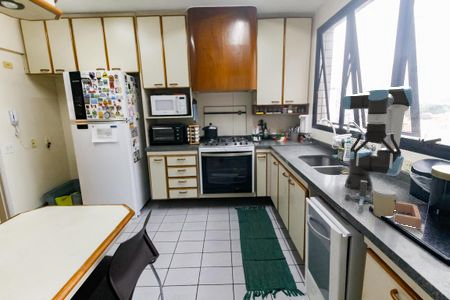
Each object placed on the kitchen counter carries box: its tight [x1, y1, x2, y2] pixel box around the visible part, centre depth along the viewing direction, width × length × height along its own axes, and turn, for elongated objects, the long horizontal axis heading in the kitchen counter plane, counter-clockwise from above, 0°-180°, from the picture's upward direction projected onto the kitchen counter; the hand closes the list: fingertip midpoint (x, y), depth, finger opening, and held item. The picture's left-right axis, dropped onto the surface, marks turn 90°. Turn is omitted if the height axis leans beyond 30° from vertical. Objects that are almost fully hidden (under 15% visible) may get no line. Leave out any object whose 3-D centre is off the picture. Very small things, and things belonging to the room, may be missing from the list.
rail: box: [344, 192, 406, 205], centre depth 119 cm, size 2×26×3 cm, turn 56°
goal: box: [394, 201, 422, 229], centre depth 102 cm, size 16×9×4 cm, turn 146°
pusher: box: [355, 180, 370, 214], centre depth 115 cm, size 18×6×11 cm, turn 146°
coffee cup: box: [372, 187, 399, 218], centre depth 106 cm, size 9×9×12 cm
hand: (373, 166), depth 110 cm, fingers open, 13 cm apart
